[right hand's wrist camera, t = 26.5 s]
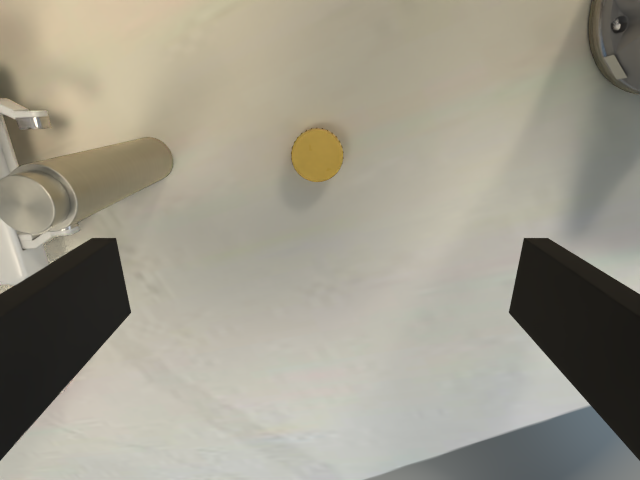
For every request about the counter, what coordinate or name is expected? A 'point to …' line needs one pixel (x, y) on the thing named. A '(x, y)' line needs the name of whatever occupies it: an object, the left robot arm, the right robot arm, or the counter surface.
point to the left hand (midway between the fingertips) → (60, 174)
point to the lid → (317, 155)
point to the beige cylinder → (79, 184)
